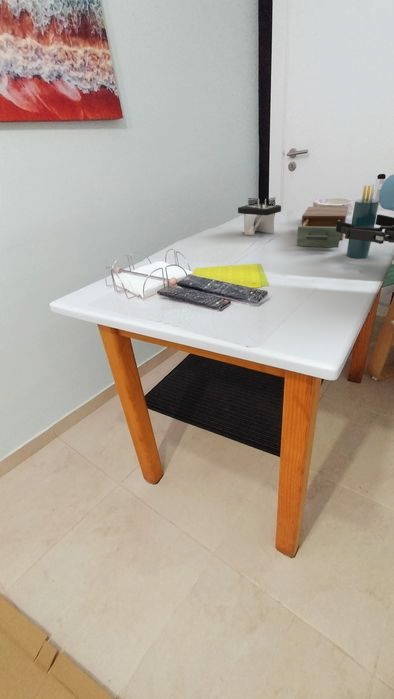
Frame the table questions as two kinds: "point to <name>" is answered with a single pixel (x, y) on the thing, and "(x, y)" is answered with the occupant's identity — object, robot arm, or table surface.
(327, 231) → the drawer
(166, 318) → the table surface
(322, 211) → the cabinet
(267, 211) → the black-topped pedestal
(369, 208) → the straw cup
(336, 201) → the paper bowls
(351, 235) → the robot arm
